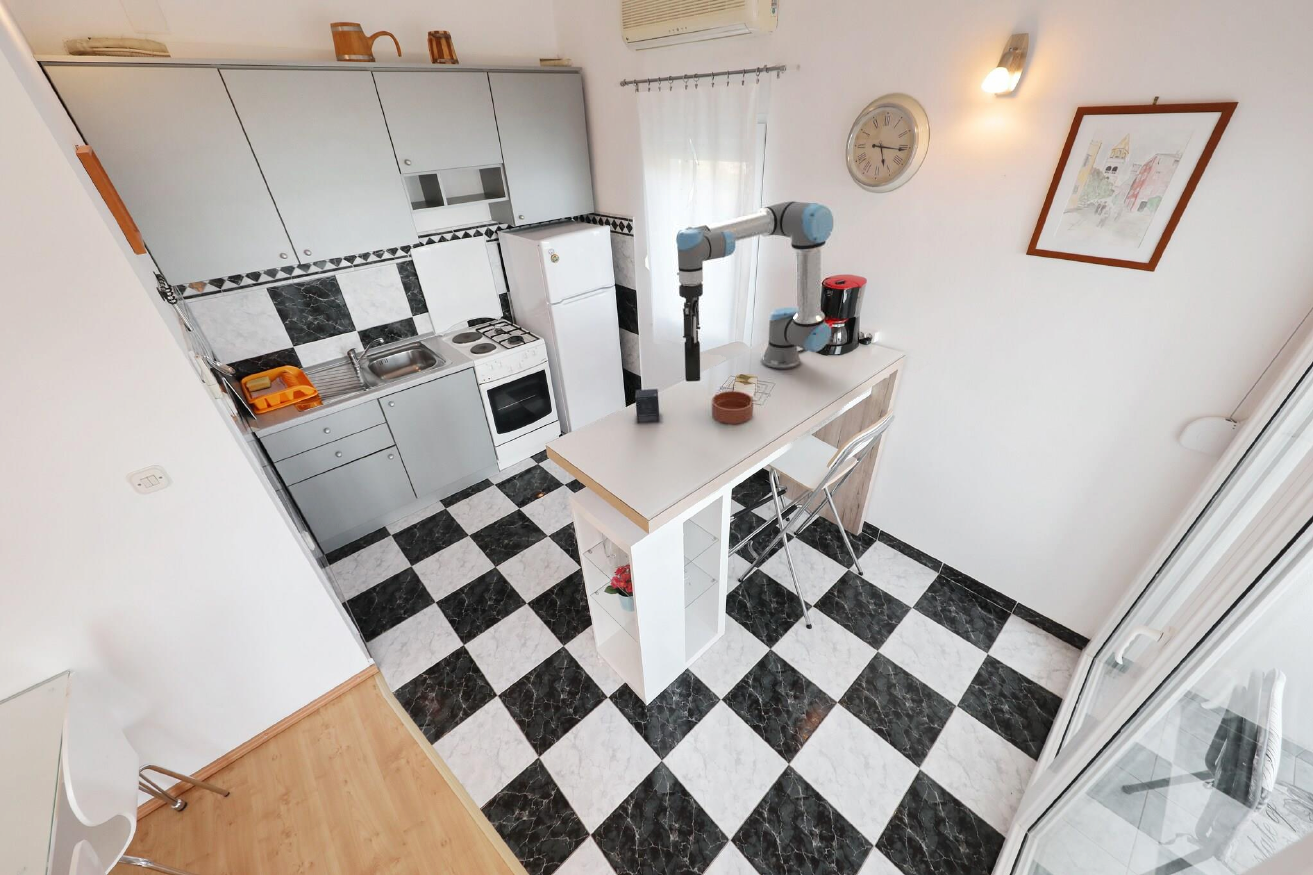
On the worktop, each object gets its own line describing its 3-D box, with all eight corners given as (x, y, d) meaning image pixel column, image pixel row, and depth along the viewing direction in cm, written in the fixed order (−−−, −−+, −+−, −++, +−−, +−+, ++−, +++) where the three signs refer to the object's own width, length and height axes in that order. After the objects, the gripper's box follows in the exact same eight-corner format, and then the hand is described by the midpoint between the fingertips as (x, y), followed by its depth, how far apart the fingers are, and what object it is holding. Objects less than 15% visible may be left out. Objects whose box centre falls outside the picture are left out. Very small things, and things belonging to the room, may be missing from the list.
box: (659, 414, 181) (658, 388, 176) (659, 422, 176) (657, 395, 171) (637, 415, 181) (635, 389, 176) (637, 423, 177) (635, 396, 171)
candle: (700, 381, 173) (699, 310, 160) (685, 381, 173) (683, 310, 160) (699, 374, 177) (698, 305, 164) (685, 375, 177) (683, 305, 164)
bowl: (730, 401, 187) (731, 387, 184) (761, 415, 177) (762, 400, 174) (703, 415, 179) (703, 400, 176) (733, 429, 170) (733, 414, 166)
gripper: (685, 275, 166) (687, 341, 178) (672, 291, 151) (675, 362, 163) (707, 275, 164) (708, 342, 176) (696, 291, 149) (697, 363, 161)
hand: (692, 351), depth 170 cm, fingers closed on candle, 6 cm apart
